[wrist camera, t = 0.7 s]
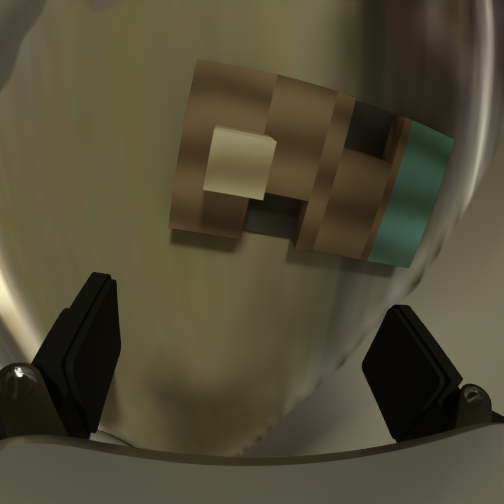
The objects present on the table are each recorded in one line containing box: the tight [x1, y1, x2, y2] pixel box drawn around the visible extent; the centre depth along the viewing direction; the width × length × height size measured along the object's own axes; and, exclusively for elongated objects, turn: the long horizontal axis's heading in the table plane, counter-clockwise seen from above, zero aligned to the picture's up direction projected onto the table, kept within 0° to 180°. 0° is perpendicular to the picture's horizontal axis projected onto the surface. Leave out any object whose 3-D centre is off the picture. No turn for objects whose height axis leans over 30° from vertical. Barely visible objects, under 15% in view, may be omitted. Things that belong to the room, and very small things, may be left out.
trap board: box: [169, 60, 454, 268], centre depth 32 cm, size 17×29×3 cm, turn 78°
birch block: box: [203, 125, 277, 200], centre depth 27 cm, size 5×5×5 cm
